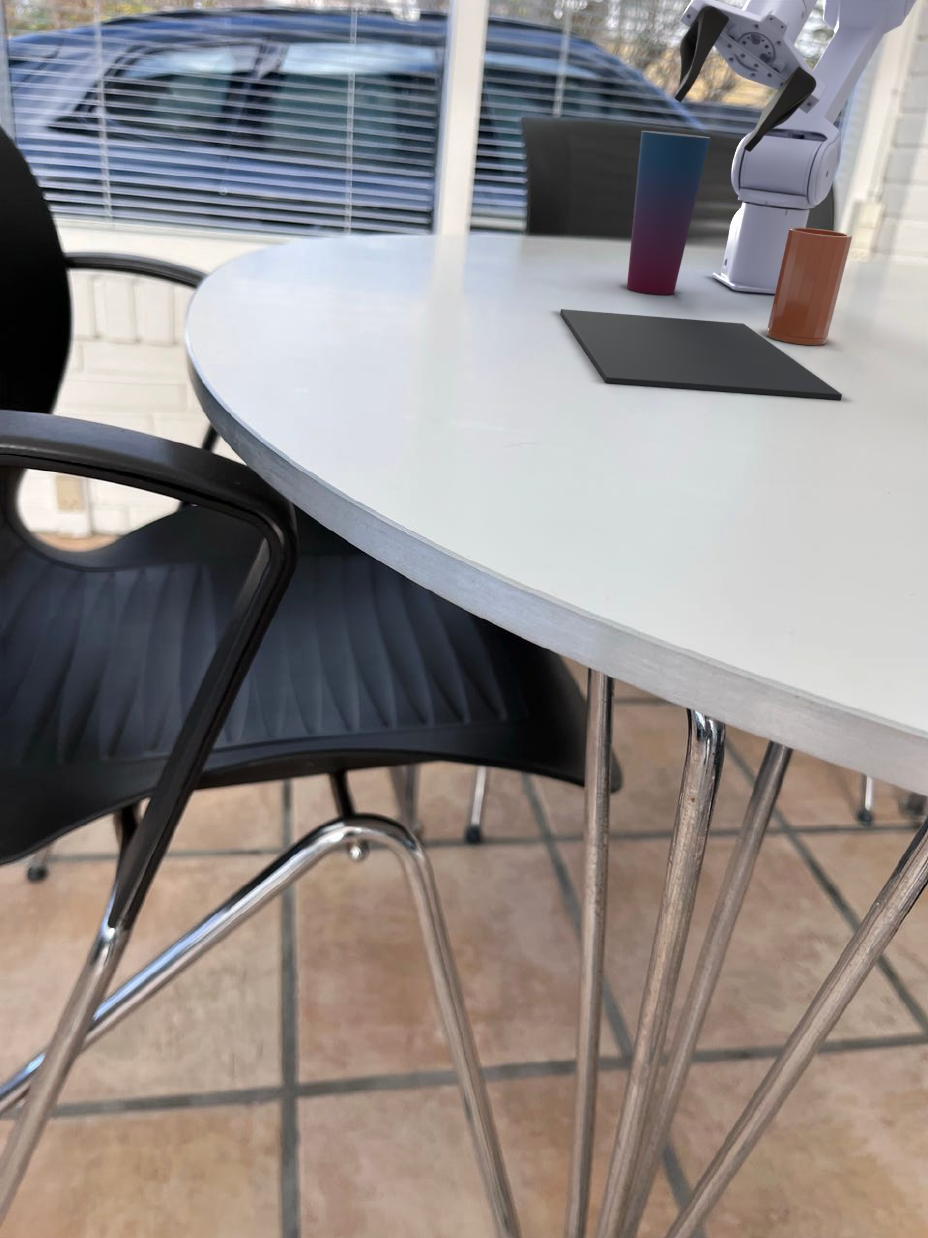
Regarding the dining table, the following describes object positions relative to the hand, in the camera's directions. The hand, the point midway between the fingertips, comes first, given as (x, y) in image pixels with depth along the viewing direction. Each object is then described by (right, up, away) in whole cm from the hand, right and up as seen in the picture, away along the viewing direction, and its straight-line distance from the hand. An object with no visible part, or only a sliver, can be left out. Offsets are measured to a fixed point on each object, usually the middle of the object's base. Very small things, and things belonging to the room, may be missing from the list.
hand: (717, 118), depth 91 cm
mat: (-5, -23, -8) cm, 25 cm away
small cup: (+7, -19, +1) cm, 21 cm away
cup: (-3, -10, +18) cm, 20 cm away
